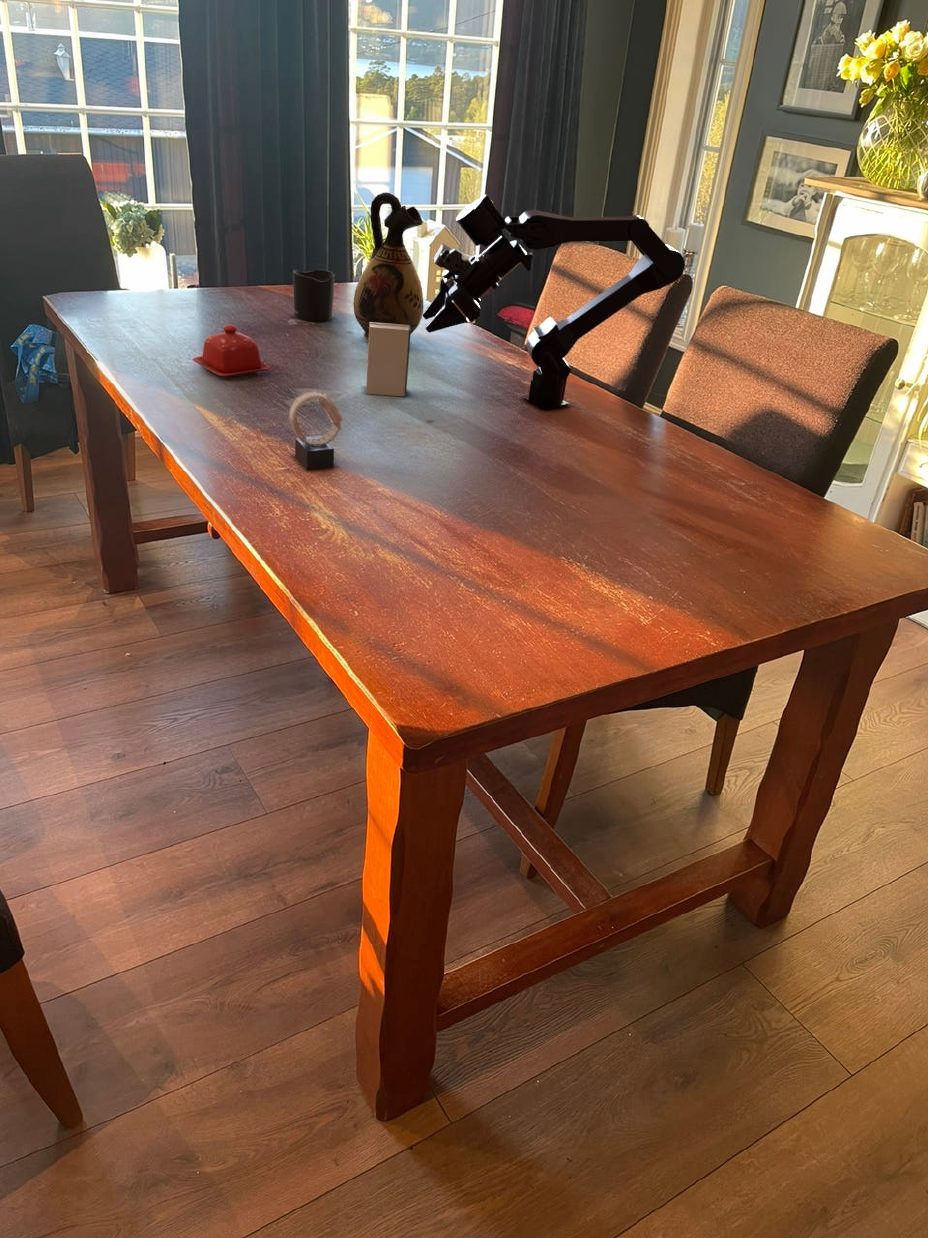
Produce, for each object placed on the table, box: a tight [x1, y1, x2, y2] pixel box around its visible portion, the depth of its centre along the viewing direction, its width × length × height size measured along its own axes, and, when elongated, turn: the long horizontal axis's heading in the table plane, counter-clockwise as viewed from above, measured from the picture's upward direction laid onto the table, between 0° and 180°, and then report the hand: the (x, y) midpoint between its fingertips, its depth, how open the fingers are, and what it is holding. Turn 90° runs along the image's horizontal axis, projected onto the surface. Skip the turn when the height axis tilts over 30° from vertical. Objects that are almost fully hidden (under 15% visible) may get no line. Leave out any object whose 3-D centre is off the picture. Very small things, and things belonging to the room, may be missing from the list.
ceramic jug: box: [352, 191, 425, 343], centre depth 202 cm, size 17×15×30 cm
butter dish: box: [192, 324, 271, 378], centre depth 178 cm, size 12×12×8 cm
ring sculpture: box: [288, 390, 344, 471], centre depth 144 cm, size 6×8×11 cm
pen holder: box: [292, 268, 336, 323], centre depth 217 cm, size 9×9×10 cm
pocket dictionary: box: [365, 322, 412, 397], centre depth 176 cm, size 8×4×12 cm, turn 95°
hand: (425, 323), depth 173 cm, fingers open, 9 cm apart
